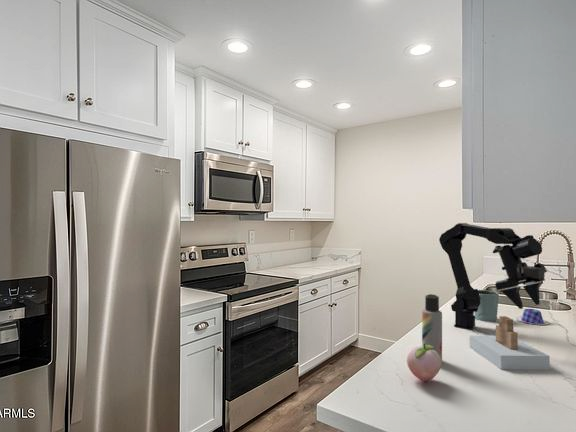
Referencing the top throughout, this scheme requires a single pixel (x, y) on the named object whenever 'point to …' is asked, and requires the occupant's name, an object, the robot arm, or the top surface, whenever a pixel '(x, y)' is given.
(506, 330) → the angular brown block
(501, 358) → the flat gray panel
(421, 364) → the decorative fruit
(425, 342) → the lotion bottle
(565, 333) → the top surface
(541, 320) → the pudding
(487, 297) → the teal canister
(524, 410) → the top surface
